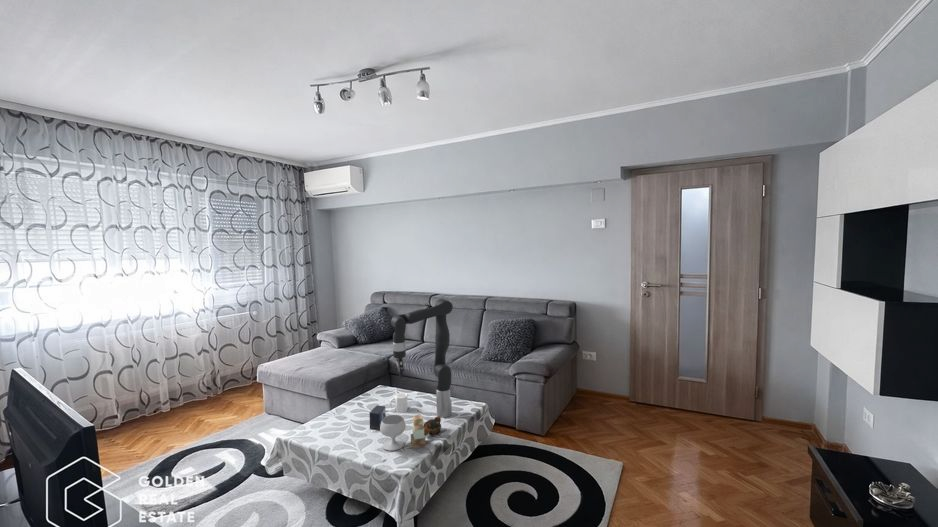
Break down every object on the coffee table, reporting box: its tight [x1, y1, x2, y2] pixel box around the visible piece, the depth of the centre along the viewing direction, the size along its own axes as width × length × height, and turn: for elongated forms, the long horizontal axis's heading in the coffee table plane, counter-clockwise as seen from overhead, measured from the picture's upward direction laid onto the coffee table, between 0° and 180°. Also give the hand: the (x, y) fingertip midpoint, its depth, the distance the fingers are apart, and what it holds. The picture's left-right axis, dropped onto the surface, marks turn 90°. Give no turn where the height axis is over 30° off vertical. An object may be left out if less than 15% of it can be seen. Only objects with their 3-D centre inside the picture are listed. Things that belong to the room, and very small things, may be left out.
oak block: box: [412, 414, 424, 430], centre depth 215 cm, size 5×5×6 cm
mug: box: [389, 392, 409, 413], centre depth 260 cm, size 12×9×10 cm
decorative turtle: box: [423, 415, 442, 437], centre depth 229 cm, size 10×15×8 cm, turn 151°
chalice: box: [379, 414, 406, 452], centre depth 215 cm, size 14×14×15 cm
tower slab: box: [410, 433, 427, 450], centre depth 216 cm, size 7×7×5 cm
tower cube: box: [412, 427, 425, 440], centre depth 216 cm, size 6×6×5 cm
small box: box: [369, 405, 387, 430], centre depth 239 cm, size 11×6×10 cm, turn 168°
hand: (400, 375), depth 236 cm, fingers open, 8 cm apart
